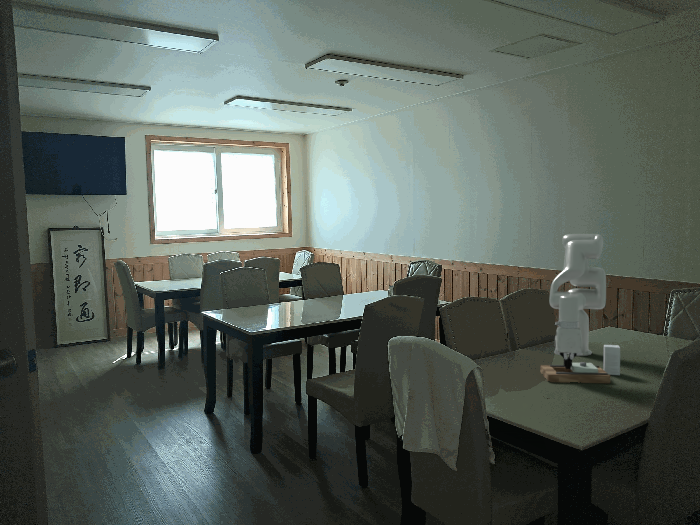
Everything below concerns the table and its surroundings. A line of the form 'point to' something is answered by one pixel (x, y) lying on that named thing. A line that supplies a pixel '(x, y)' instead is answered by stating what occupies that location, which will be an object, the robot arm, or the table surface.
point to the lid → (584, 367)
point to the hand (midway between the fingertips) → (567, 368)
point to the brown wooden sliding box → (573, 375)
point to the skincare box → (612, 359)
